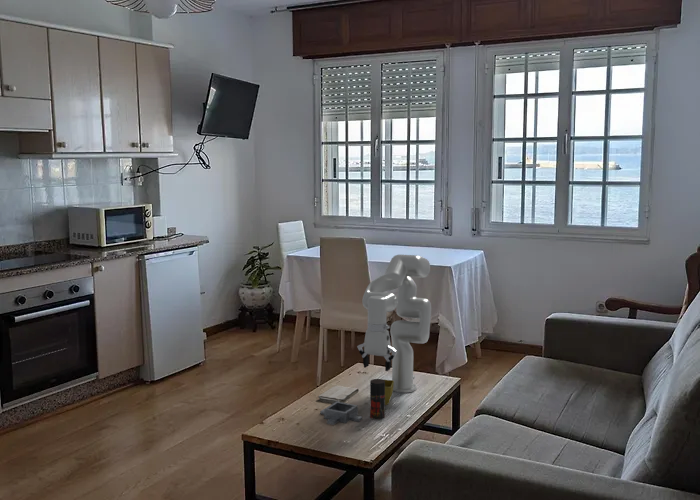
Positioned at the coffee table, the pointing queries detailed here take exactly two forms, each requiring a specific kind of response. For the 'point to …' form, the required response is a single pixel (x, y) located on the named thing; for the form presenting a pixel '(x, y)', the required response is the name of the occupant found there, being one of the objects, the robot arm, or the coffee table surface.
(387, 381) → the flower pot
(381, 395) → the deodorant
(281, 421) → the coffee table surface
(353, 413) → the tabbed square frame
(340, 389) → the washcloth
